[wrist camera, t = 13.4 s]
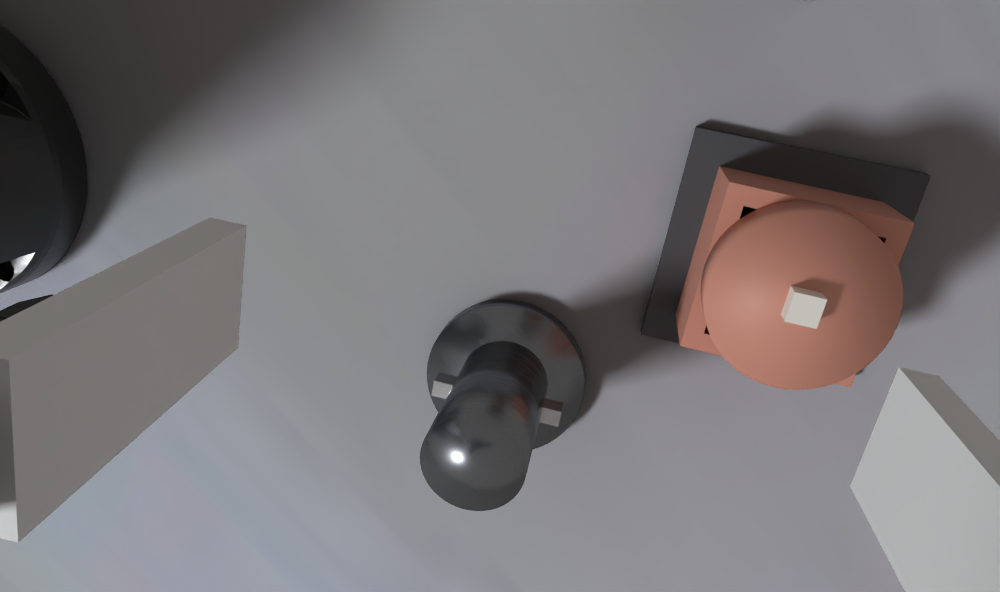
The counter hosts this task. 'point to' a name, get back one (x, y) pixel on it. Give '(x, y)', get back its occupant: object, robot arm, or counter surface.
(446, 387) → the post
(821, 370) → the cap
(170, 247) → the robot arm
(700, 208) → the dark grey square plate
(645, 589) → the counter surface
